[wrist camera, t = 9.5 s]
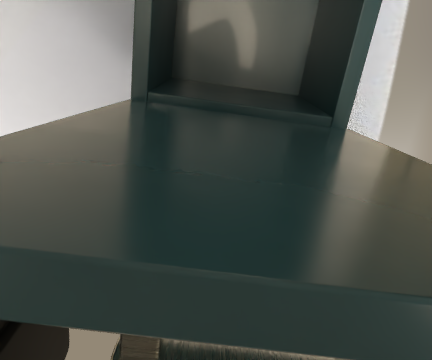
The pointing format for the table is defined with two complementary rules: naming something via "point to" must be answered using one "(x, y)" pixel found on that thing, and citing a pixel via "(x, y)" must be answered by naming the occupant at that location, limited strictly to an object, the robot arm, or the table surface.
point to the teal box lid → (217, 236)
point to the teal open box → (253, 56)
